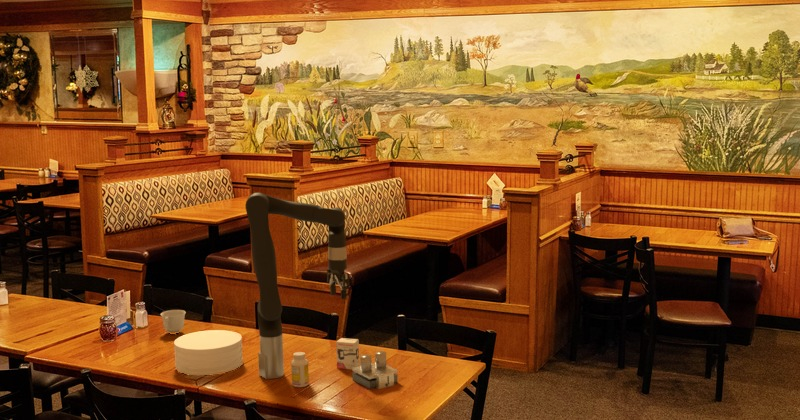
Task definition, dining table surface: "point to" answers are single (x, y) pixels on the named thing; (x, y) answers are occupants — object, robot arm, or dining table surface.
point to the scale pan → (374, 371)
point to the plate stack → (208, 352)
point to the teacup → (173, 320)
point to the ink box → (347, 353)
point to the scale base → (376, 380)
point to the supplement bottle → (299, 370)
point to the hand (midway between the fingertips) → (338, 296)
